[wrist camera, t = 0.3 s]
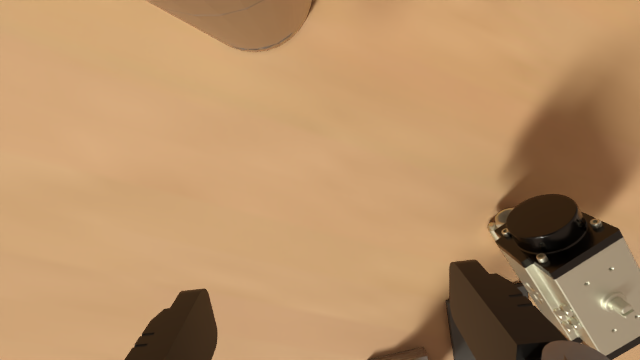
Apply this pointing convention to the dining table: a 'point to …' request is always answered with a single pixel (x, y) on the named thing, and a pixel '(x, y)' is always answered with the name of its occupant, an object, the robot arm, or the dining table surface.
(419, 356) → the grey column pedestal
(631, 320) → the pneumatic valve
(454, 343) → the pad
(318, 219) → the dining table surface
